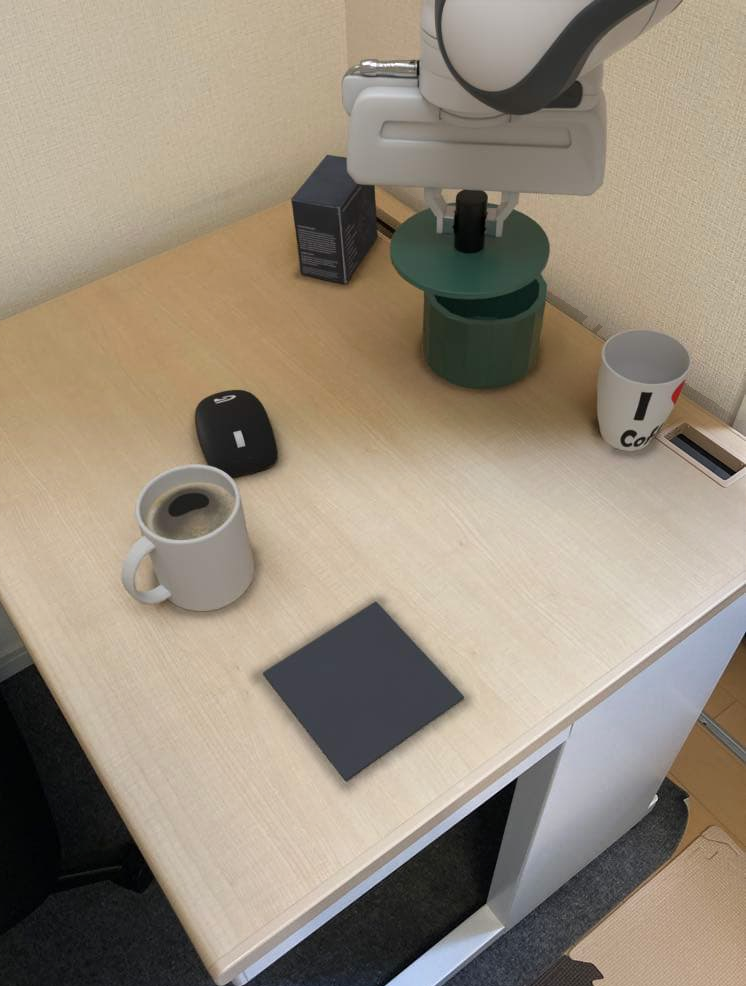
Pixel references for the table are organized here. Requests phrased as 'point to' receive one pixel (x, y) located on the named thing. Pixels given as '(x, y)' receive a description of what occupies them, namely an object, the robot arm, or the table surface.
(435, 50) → the robot arm
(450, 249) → the tin lid
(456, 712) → the table surface
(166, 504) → the mug
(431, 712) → the mat
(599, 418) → the cup
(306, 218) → the box
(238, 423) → the computer mouse
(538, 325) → the tin
